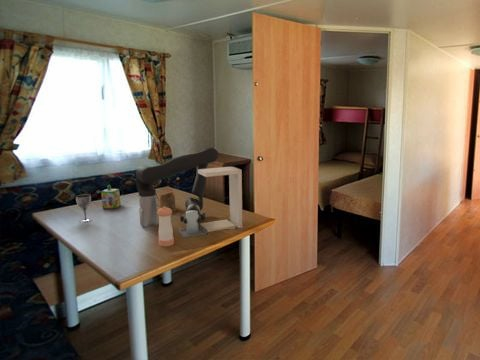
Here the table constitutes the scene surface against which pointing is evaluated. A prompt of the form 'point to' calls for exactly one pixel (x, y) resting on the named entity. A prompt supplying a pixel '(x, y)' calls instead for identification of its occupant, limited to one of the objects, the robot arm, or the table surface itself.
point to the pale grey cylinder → (192, 221)
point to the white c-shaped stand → (235, 198)
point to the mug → (167, 201)
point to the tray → (185, 235)
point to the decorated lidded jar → (110, 198)
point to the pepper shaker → (165, 227)
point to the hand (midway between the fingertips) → (192, 221)
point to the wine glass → (84, 203)
